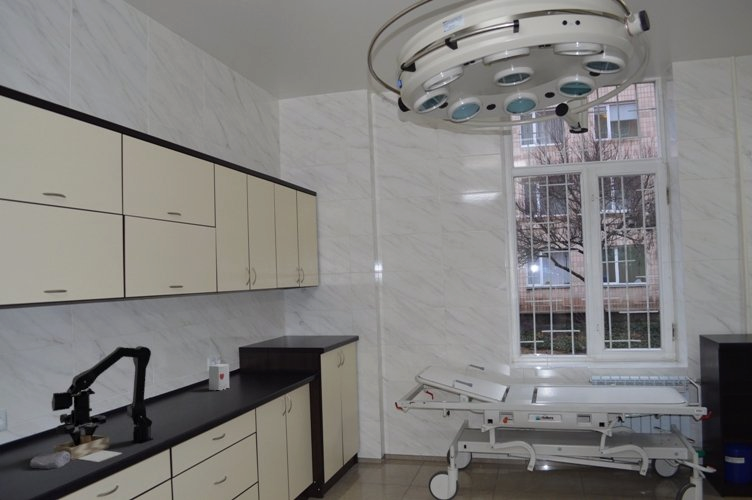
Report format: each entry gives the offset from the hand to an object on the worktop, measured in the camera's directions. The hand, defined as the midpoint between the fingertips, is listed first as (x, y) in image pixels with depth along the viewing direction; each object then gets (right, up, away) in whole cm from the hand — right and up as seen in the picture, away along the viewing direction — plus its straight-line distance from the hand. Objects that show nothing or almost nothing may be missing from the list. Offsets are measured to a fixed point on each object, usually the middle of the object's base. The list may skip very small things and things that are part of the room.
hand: (82, 446), depth 228 cm
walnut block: (0, 0, 0) cm, 0 cm away
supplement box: (+20, -8, +126) cm, 128 cm away
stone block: (-5, -3, -14) cm, 15 cm away
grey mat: (+10, -2, -6) cm, 12 cm away
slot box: (0, -3, 0) cm, 3 cm away
